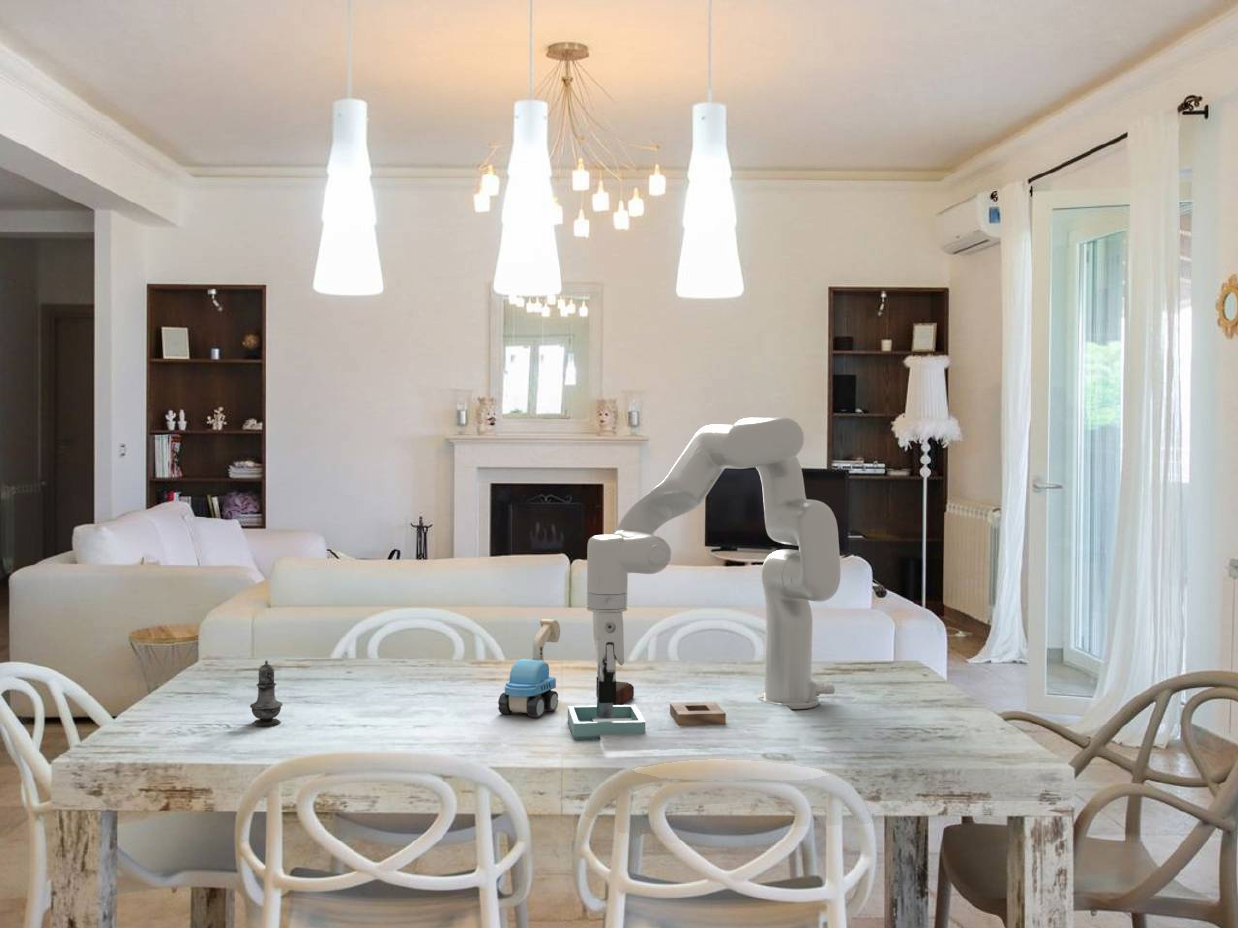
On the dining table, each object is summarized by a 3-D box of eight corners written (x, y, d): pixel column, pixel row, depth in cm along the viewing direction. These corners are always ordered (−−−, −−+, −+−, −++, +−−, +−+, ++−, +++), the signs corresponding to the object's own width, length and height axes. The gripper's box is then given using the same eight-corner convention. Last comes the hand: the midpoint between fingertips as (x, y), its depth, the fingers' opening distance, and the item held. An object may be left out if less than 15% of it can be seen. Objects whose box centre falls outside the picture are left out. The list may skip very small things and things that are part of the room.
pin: (611, 714, 217) (613, 661, 217) (613, 718, 214) (615, 664, 214) (595, 714, 217) (598, 661, 217) (597, 718, 214) (599, 664, 214)
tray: (634, 720, 223) (635, 704, 223) (645, 738, 210) (645, 721, 210) (567, 721, 221) (567, 706, 221) (573, 739, 208) (574, 723, 208)
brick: (615, 715, 228) (616, 691, 228) (597, 712, 229) (597, 689, 229) (634, 703, 238) (634, 680, 237) (616, 701, 239) (616, 679, 239)
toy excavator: (573, 702, 237) (574, 619, 236) (534, 721, 222) (535, 632, 221) (537, 698, 240) (538, 616, 240) (495, 716, 225) (496, 628, 225)
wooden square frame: (715, 717, 226) (715, 701, 226) (725, 729, 217) (725, 713, 217) (669, 718, 225) (670, 702, 225) (678, 730, 216) (678, 714, 216)
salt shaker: (252, 728, 214) (253, 664, 213) (247, 721, 219) (247, 658, 218) (285, 725, 216) (285, 661, 216) (279, 718, 221) (279, 655, 221)
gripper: (633, 608, 207) (632, 710, 208) (621, 595, 224) (620, 689, 224) (591, 608, 206) (590, 711, 207) (582, 595, 223) (581, 690, 223)
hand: (606, 699), depth 216 cm, fingers closed on pin, 3 cm apart
